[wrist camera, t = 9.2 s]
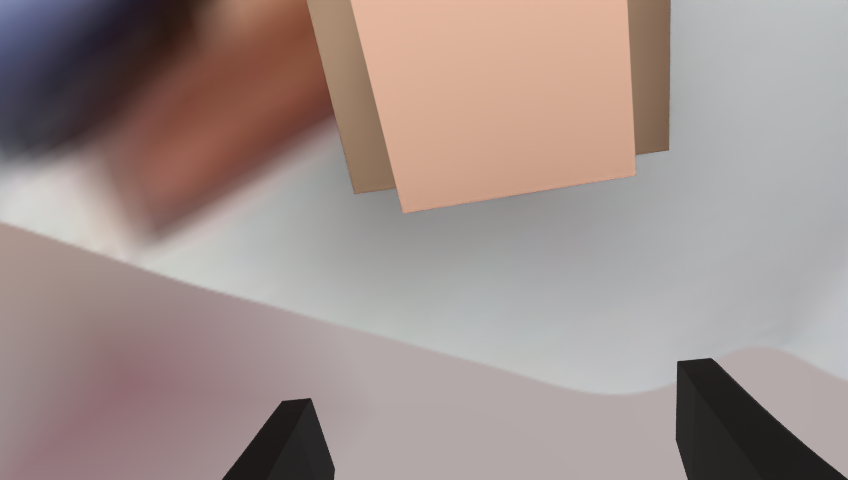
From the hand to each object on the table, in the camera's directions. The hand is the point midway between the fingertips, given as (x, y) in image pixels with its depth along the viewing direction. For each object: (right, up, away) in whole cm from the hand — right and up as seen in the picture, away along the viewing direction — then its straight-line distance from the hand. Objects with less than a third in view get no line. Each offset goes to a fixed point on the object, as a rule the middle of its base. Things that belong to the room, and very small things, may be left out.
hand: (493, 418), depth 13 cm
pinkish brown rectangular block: (0, +10, +5) cm, 11 cm away
